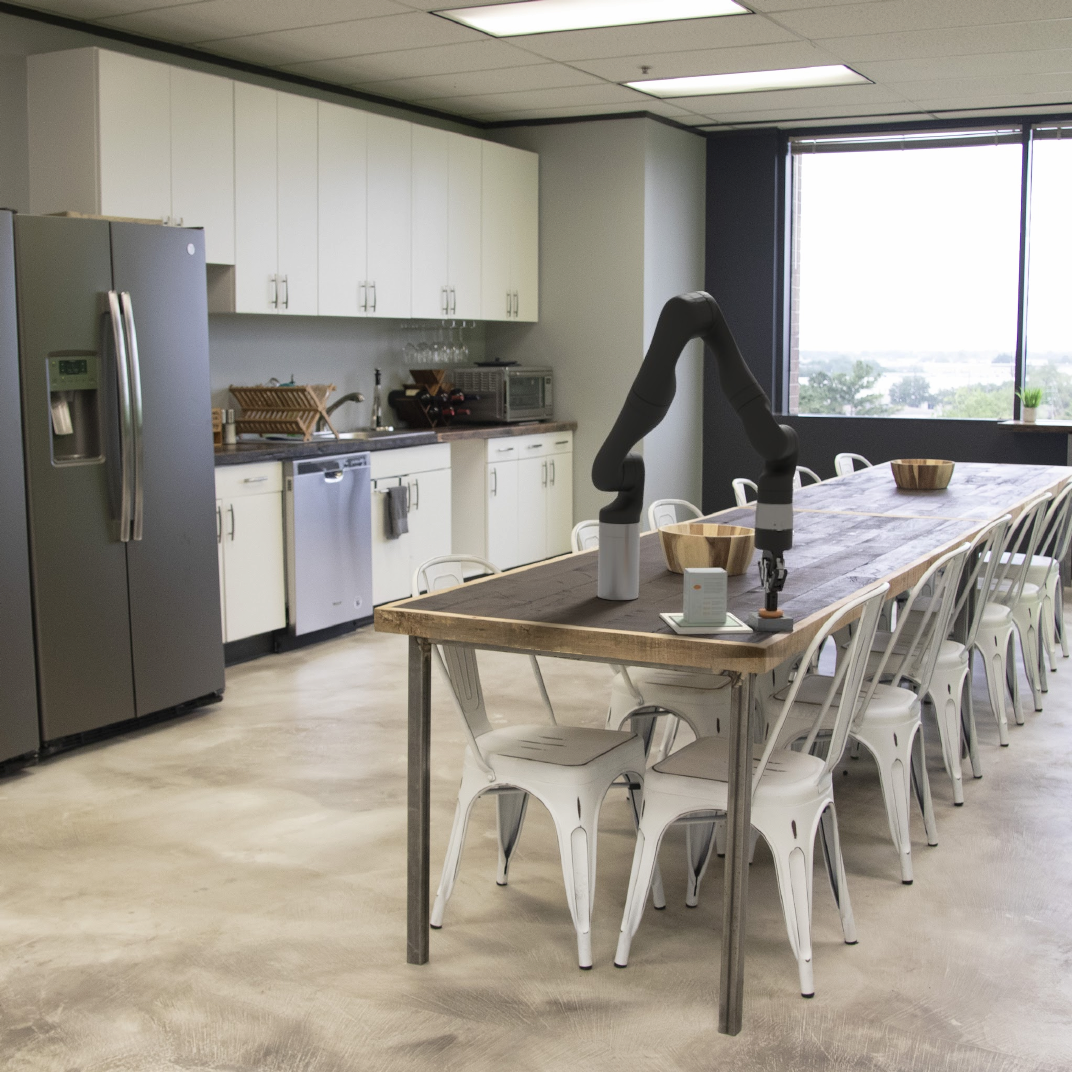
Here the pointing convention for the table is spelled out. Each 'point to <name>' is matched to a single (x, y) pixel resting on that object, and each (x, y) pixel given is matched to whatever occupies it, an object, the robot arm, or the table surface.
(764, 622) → the button base
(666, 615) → the white rectangular board
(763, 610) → the button
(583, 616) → the table surface
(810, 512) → the table surface
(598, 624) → the table surface
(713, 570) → the small box
